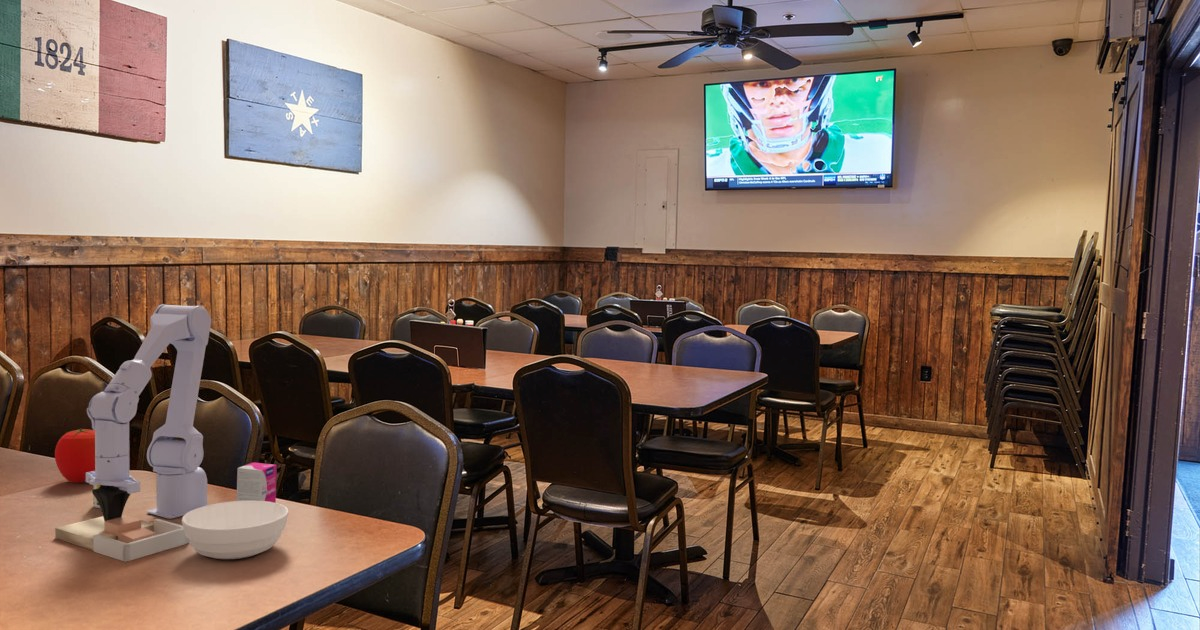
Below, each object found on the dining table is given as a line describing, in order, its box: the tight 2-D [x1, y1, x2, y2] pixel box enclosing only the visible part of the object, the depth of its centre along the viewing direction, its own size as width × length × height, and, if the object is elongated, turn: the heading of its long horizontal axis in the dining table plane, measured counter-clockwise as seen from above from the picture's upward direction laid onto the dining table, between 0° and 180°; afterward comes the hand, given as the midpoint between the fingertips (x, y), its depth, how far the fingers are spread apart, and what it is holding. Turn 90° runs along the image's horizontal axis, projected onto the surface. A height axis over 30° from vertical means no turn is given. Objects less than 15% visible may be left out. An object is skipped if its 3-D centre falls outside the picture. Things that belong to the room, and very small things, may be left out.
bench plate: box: [54, 514, 154, 551], centre depth 168 cm, size 12×13×2 cm
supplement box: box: [236, 462, 278, 503], centre depth 181 cm, size 6×6×12 cm
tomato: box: [54, 428, 95, 484], centre depth 206 cm, size 11×11×13 cm
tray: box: [93, 518, 190, 563], centre depth 163 cm, size 13×10×3 cm
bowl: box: [181, 500, 289, 560], centre depth 161 cm, size 18×18×7 cm
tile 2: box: [118, 527, 156, 543], centre depth 163 cm, size 4×4×2 cm
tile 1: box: [104, 515, 142, 536], centre depth 165 cm, size 4×4×2 cm
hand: (112, 524), depth 167 cm, fingers closed
